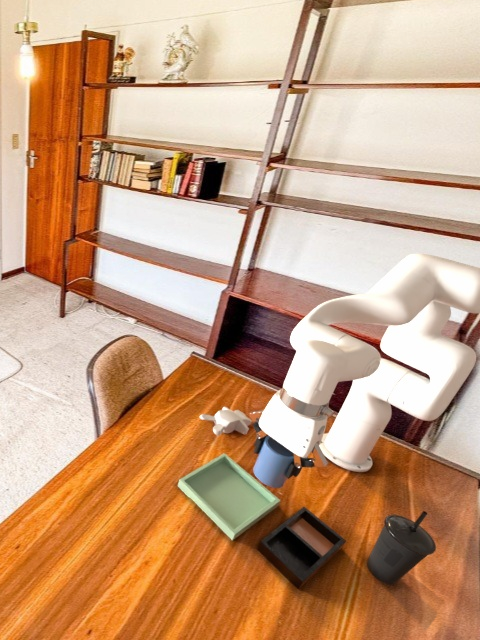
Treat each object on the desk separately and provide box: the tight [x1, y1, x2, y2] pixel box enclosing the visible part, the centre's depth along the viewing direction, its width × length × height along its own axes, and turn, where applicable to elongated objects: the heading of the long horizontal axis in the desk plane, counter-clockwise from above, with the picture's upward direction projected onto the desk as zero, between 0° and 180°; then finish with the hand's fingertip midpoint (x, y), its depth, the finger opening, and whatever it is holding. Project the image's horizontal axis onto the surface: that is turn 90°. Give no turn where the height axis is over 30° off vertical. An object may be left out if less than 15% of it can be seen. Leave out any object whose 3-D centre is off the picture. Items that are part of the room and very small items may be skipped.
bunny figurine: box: [199, 406, 253, 436], centre depth 118 cm, size 10×5×15 cm
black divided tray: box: [256, 506, 347, 591], centre depth 87 cm, size 17×9×3 cm, turn 119°
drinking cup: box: [366, 510, 437, 585], centre depth 80 cm, size 8×8×20 cm
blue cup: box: [252, 436, 294, 489], centre depth 85 cm, size 6×6×9 cm
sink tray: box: [177, 452, 281, 541], centre depth 98 cm, size 18×16×3 cm
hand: (274, 462), depth 85 cm, fingers closed on blue cup, 6 cm apart
